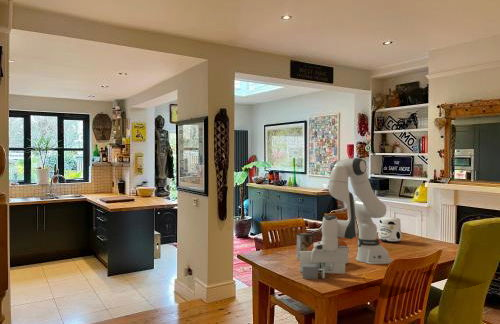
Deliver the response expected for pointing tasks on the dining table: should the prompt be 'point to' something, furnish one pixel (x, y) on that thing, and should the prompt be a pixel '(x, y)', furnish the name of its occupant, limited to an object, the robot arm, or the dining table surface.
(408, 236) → the dining table surface
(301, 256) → the gauge housing
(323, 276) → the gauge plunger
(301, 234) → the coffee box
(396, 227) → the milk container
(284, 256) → the dining table surface
